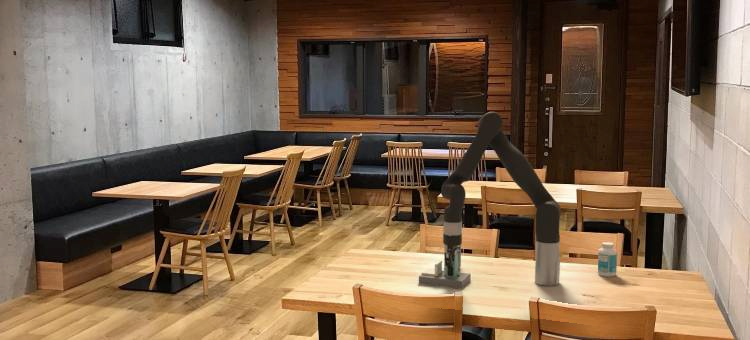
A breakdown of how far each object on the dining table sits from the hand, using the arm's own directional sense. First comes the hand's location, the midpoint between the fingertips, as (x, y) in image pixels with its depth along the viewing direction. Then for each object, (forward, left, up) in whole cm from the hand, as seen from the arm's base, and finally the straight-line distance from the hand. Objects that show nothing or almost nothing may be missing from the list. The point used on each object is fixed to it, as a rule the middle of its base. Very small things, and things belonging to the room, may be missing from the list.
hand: (452, 274), depth 299 cm
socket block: (+3, 0, -4) cm, 5 cm away
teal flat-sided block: (0, 0, -2) cm, 2 cm away
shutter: (+9, 0, -1) cm, 9 cm away
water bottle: (+7, -23, -4) cm, 24 cm away
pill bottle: (-56, -37, -4) cm, 67 cm away
